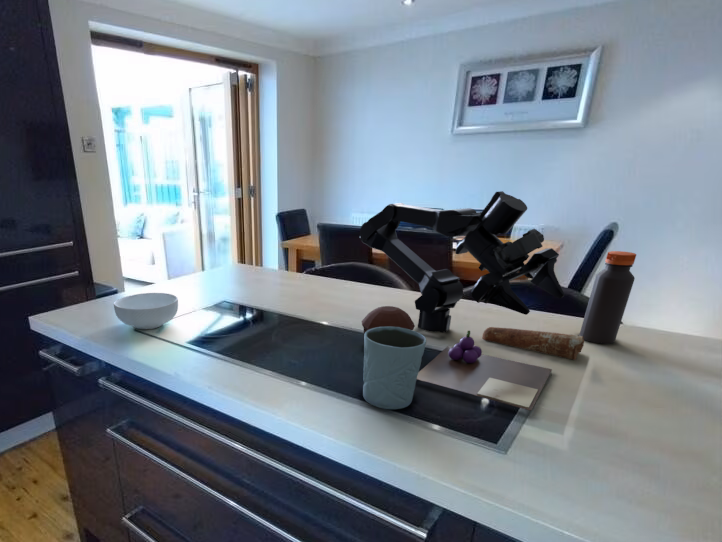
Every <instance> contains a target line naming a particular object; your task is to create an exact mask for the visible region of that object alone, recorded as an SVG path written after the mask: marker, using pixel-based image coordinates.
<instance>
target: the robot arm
mask: <svg viewBox="0 0 722 542" xmlns="http://www.w3.org/2000/svg"><path fill="white" fill-rule="evenodd" d="M527 210H528V206H527V204H526V203H525V202H524V201H523V200H522V199H521V198H517V197H515V196H513V195H510V194H507V193H505V192H504V190H503V191H502V190H500V191H495V192H494V194H493V195H492V196H491V198H490V201H488V203H487V204H486V206H485V207H484V208H483V210H481V212H477V210H476V209H474V208H471V207H468V208H466V207H465V208H453V209H436V208H430V207H425V206H424V207H423V206H417V205H410V204H405V203H403V202H398V203H389V204H388V205H386V206H385V207H383V209H382V210H381V211H379V212H378V213H376V214H375V215H373V216H372V217H370V218H369V219H368V220H367V221H365V222H363V223H362V225H361V226H360V229H359V232H358V233H359V240H360V241H361V242H362V243H363V244H365V245H366V246H368V247H369V248H371V249H374V250H378V251H380V252H383V253H384V255H386V256H387V257H388V258H389V259H390V260H392V262H394V263H395V264H396V265H397V266H398V267H399V268H401V269H402V271H404V272H405V273H406V274H407V275H408V276H409V277H410V278H411V279H412V280H413V281H414V282H415V283H416V284H418V287H419V291H420V294H421V295H420V296H419V297H418V298H416V299H415V300H414V305H415V306H414V307H415V309H416V310H418V311H419V315H418V321H417V328H418V329H421V330H422V331H425V332H429V333H447V332H448V331H449V330H450V328H451V323H452V321H451V320H452V315H451V314H450V312H451V309H454V308H455V307H456V305H457V304H458V302H459V301H460V300H462V298H463V295H464V285H463V283H462V282H461V281H460V280H461V277H458V276H457V275H454V273H453V272H452V271H451V270H450V269H448V268H444V269H440V270H435V268H433V267H432V266H431V265H429V264H428V263H427V262H426V261H425V260H423V259H422V258H421V257H420V256H419V255H418V254H417V253H415V252H414V251H413V250H412V249H411V248H409V247H408V246H407V245H406V244H405V243H404V242H403V241H402V240H400V239H399V238H398V235H397V232H396V231H397V229H398V228H399V227H400V225H401V223H407V224H411V225H412V224H413V225H418V226H423V227H428V228H431V229H433V231H435V232H436V233H438V234H439V235H441V236H445V237H447V238H455V237H462V236H464V238H463V239H462V240H460V241H457V242H456V243H455V244H456V247H455V255H462V254H467V253H469V254H470V255H471V256H472V257H473V259H475V260H476V261H477V262H478V263H479V264H480V265H478V270H479V271H481V272H483V271H485V270H486V271H487V272H488V273H486V274H483V275H481V276H480V277H479V279H478V280H477V281H476V283H475V284H474V285H473V287H472V289H471V290H470V293H471V297H472V299H474V300H475V302H476V303H478V304H479V303H481V302H483V303H484V304H485V305H486V304H492V305H495V306H499V307H502V308H505V309H507V310H511V311H513V312H517V313H519V314H522V315H525V316H526V315H528V314H530V312H531V310H530V309H529V308H528V306H527V304H525V303H524V301H523V300H522V299H521V298H520V297H519V296H518V295H517V294H516V293H515V292H514V290H512V288H511V287H512V286H511V283H510V282H512V281H513V280H517V279H518V278H520V277H522V276H525V277H526V278H527V279H530V283H531V284H533V285H535V286H536V287H539V289H542V290H543V291H545V292H547V293H549V294H550V295H552V296H553V297H555V298H558V299H562V298H563V297H565V292H564V290H563V289H562V288H563V287H562V286H561V284H560V281H559V280H558V277H557V275H556V272H555V264H556V263H557V262H558V259H557V258H558V257H559V256H560V254H559V252H557V251H556V250H555V249H554V248H552V247H549V248H547V247H546V248H544V249H542V250H539V251H537V252H535V253H533V255H532V256H531V257H530V255H529V254H531V253H532V252H534V251H536V250H538V249H541V248H543V244H542V243H543V242H544V241H545V236H544V234H543V233H542V232H541V231H539V230H537V229H536V228H531V229H529V230H527V232H525V233H523V234H522V236H521V237H519V238H517V239H516V240H514V241H506V242H503V241H502V240H501V239H500V238H499V237H498V236H500V234H501V235H506V234H507V233H508V232H510V230H512V228H513V227H514V226H515V224H516V223H517V222H518V221H519V220H520V219H521V217H522V216H523V215H524V214H525V213H526V212H527ZM527 260H528V261H527ZM525 262H526V263H525Z"/></svg>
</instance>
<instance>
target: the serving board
mask: <svg viewBox="0 0 722 542" xmlns="http://www.w3.org/2000/svg"><path fill="white" fill-rule="evenodd" d="M451 348H452V346H446V347H445V348H444V349H443V350H442V351H441V352H440V353H439V354H437V355H436V356H435V357H433V359H432V360H430V362H429V363H427V364H426V365H425V366H424V367H423V368H421V370H419V372H418V375H417V381H421V382H424V383H428V384H432V385H434V386H435V385H436V386H439V387H443V388H446V389H450V390H454V391H457V392H461V393H465V394H469V395H472V396H476V397H479V398H483V399H486V400H490V401H494V402H498V403H501V404H505V405H508V406H513V407H516V408H520V409H524V410H527V411H532V410H533V408H534V406H535V404H536V402H537V400H538V398H539V397H540V394H541V393H542V390H543V388H544V386H545V385H546V383H547V381H548V379H549V377H550V375H551V373H552V371H553V369H552V368H547V367H544V366H543V367H542V366H538V365H534V364H529V363H524V362H522V361H521V362H520V361H515V360H511V359H506V358H502V357H497V356H493V355H489V354H484V353H482V354H481V356H480V357H479V358H478V359H477V361H476V362H474V363H466V362H465V361H464V360H463V356H462V358H461V359H459V360H453V359H451V358H450V357H449V350H450V349H451Z"/></svg>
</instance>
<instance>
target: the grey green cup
mask: <svg viewBox="0 0 722 542" xmlns="http://www.w3.org/2000/svg"><path fill="white" fill-rule="evenodd" d="M363 339H364V340H363V342H364V343H363V354H364V356H363V369H362V370H363V374H362V375H363V378H362V379H363V385H362V396H363V399H364V400H365V402H367V404H369V405H371V406H374V407H376V408H379V409H384V410H401V409H405V408H407V407H409V406H410V405H411V403H412V401H413V398H414V393H415V389H416V384H417V381H418V380H417V375H418V372H420V368H421V363H422V362H423V361H422V357H423V356H424V352H425V349H426V345H427V338H426V336H424V335H423V334H422V333H420V332H418V331H415V330H414V329H413V330H409V329H405V328H400V327H376V328H372V329H369V330H367V331H366V332H365V334H364V333H363Z"/></svg>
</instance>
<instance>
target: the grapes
mask: <svg viewBox="0 0 722 542" xmlns="http://www.w3.org/2000/svg"><path fill="white" fill-rule="evenodd" d="M451 347H452V346H451ZM481 354H483V351H482V348H481V347H480V346H478V345H475V339H474V338H473V337H471V330H467V331H466V335H465V336H462V337H461V338H460V339H459V342H457V343H454V345H453V347H452V348H451V349H450V350H449V357H450V358H451V359H453V360H459V359H461V358H462V356H463V360H464V361H465V362H466V363H474V362H476V361H477V359H478V358H479V357H480V356H481Z"/></svg>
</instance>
